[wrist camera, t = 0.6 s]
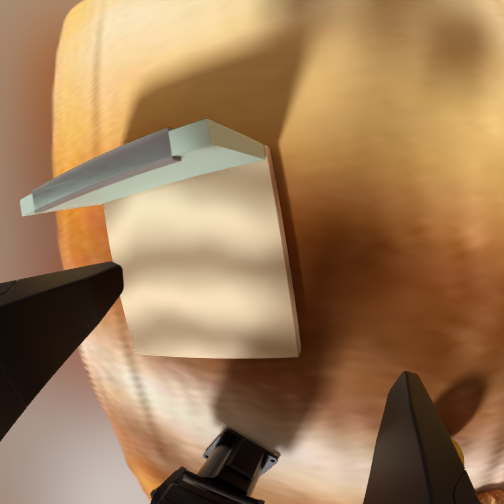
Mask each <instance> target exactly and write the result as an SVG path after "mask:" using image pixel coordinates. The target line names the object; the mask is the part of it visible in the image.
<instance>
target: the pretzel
mask: <svg viewBox="0 0 504 504" xmlns="http://www.w3.org/2000/svg"><path fill="white" fill-rule="evenodd" d="M476 494H477V496H478V498H479V500H480V502H481V504H504V492H503V491H502V490H499V489H492V490H488V491H486V492H483V493H476Z"/></svg>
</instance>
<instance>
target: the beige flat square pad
mask: <svg viewBox="0 0 504 504" xmlns="http://www.w3.org/2000/svg"><path fill="white" fill-rule="evenodd" d="M263 149H264V154H265V160H262V161H258V162H253V163H249V164H244V165H240V166H235V167H231V168H227V169H223V170H219V171H215V172H211V173H207V174H203V175H199V176H195V177H191V178H187V179H183V180H180V181H176V182H173V183H169V184H165V185H162V186H158V187H155V188H151V189H148V190H145V191H141V192H138V193H135V194H132V195H128V196H125V197H122V198H119V199H116V200H113V201H109V202H106V203H103V206H104V213H105V219H106V226H107V232H108V238H109V244H110V249H111V254H112V260H113V262H115V263H117V264H119V265H121V266H122V268H123V278H124V289H123V292H122V294H121V295H120V297H121V301H122V305H123V309H124V313H125V317H126V321H127V324H128V328H129V332H130V335H131V339H132V342H133V346H134V349H135V353H136V354H142V355H156V356H172V357H193V358H288V357H298V356H299V354H300V351H301V341H300V334H299V326H298V319H297V312H296V305H295V297H294V290H293V284H292V277H291V270H290V263H289V257H288V250H287V244H286V238H285V232H284V225H283V219H282V213H281V207H280V201H279V195H278V190H277V184H276V178H275V172H274V167H273V161H272V156H271V150H270V148H269V147H268V146H266V145H263Z"/></svg>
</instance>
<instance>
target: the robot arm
mask: <svg viewBox="0 0 504 504" xmlns="http://www.w3.org/2000/svg"><path fill="white" fill-rule="evenodd" d="M123 289H124V278H123V268H122V266H121V265H119V264H117V263H115V262H112V261H110V262H105V263H100V264H94V265H89V266H84V267H79V268H74V269H69V270H64V271H59V272H54V273H49V274H44V275H39V276H34V277H29V278H24V279H20V280H18V281H16V280H14V281H9V282H5V283H0V441H1V440H2V439H3V437H4V436H5V435H6V433H7V432H8V431H9V429H10V428H11V427H12V426H13V424H14V423H15V422H16V421H17V419H18V418H19V417H20V415H21V414H22V413H23V412H24V410H25V409H26V407H27V406H28V405H29V404H30V403H31V401H32V400H33V399H34V398H35V396H36V395H37V394H38V393H39V392H40V390H41V389H42V388H43V387H44V386H45V385H46V383H47V382H48V381H49V380H50V379H51V377H52V376H53V375H54V374H55V373H56V372H57V370H58V369H59V368H60V367H61V366H62V365H63V363H64V362H65V361H66V360H67V359H68V358H69V356H70V355H71V354H72V353H73V352H74V351H75V350H76V349H77V347H78V346H79V345H80V344H81V343H82V342H83V341H84V340H85V339H86V337H87V336H88V335H89V334H90V333H91V332H92V331H93V330H94V329H95V327H96V326H97V325H98V324H99V323H100V321H101V320H102V319H103V317H104V316H105V315H106V313H107V312H108V311H109V309H110V308H111V307H112V305H113V304H114V303H115V301H116V300H117V299H118V298H119V296H120V295H121V294H122V292H123ZM228 433H229V434H228ZM203 457H204V458H205V459H207V460H206V462H205V463H204V465H203V466H202V468H201V469H200V471H199V472H198V474H195V473H193V472H190V471H188V470H187V469H186V468H184V467H182V466H181V467H180V468H179V469H178V470H176V471H175V472H174V473H173V474H172V475H171V476H170V477H169V478H168V479H166V480H165V481H164V482H163V483H162V484H161V485H160V486H159V487H157V488H156V489H154V490H153V491H152V492H151V494H150V495H151V498H152V500H151V503H150V504H264V502H265V501H263V500H258V499H255V498H252V497H250V496H251V494H252V492H253V490H254V488H255V485H256V483H257V481H258V479H259V477H260V476H261V475H262V474H263V473H265V472H266V471H267V470H269V469H270V468H271V467H272V466H274V465H275V464H276V463H277V461H278V457H276V456H275V455H273V454H271V453H269V452H268V451H266V450H264V449H262V448H261V447H259V446H257V445H255V444H254V443H252V442H250V441H249V440H247V439H245V438H244V437H242V436H241V435H239V434H237V433H236V432H234V431H233V430H231V429H225V430H224V432H223V433H222V434H221V435H220V436H219V437H218V438H217V439H216V441H215V442H214V443H213V444H212V445H211V446H210V447H209V448H208V449H207V451H206V452H205V453H204V454H203ZM272 459H273V460H272ZM464 469H465V467H464V465H463V463H462V461H461V459H460V456H459V454H458V452H457V450H456V448H455V446H454V444H453V442H452V440H451V437H450V435H449V433H448V431H447V429H446V427H445V425H444V423H443V421H442V419H441V417H440V415H439V413H438V411H437V410H436V408H435V406H434V404H433V402H432V400H431V398H430V396H429V394H428V392H427V391H426V389H425V387H424V385H423V383H422V381H421V380H420V378H419V376H418V375H417V374H416V373H412V372H409V371H404V372H403V373H402V374H401V375H400V376H399V378H398V379H397V381H396V382H395V384H394V385H393V386H392V388H391V389H390V391H389V394H388V397H387V401H386V405H385V410H384V414H383V417H382V421H381V425H380V429H379V432H378V436H377V440H376V445H375V450H374V455H373V461H372V466H371V471H370V476H369V480H368V485H367V489H366V494H365V498H364V502H363V504H481V502H480V500H479V498H478V496H477V494H476V492H475V490H474V487H473V485H472V483H471V481H470V479H469V476H468V474H467V472H466V470H464Z"/></svg>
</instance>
